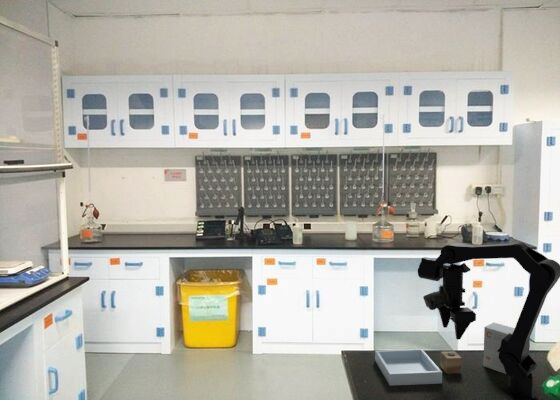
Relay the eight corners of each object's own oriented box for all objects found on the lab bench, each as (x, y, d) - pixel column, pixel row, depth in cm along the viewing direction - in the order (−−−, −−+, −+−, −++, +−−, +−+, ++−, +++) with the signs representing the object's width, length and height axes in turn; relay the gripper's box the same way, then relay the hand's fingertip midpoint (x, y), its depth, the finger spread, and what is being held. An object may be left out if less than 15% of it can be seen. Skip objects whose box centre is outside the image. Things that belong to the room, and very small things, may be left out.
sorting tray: (441, 383, 130) (442, 372, 129) (389, 385, 129) (389, 374, 129) (421, 359, 145) (422, 348, 145) (375, 360, 144) (375, 350, 144)
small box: (517, 369, 138) (519, 329, 136) (508, 375, 134) (510, 334, 132) (491, 360, 144) (493, 321, 143) (482, 366, 140) (483, 326, 139)
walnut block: (460, 373, 136) (461, 357, 135) (446, 373, 136) (447, 358, 135) (454, 366, 140) (454, 351, 140) (440, 366, 140) (441, 351, 140)
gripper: (415, 276, 144) (415, 322, 146) (439, 294, 126) (438, 347, 127) (449, 275, 145) (448, 321, 146) (477, 293, 126) (476, 345, 128)
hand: (451, 333), depth 137 cm, fingers open, 9 cm apart
